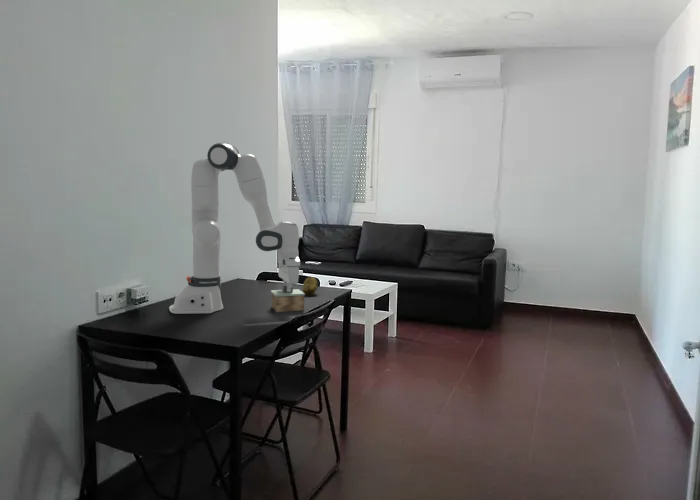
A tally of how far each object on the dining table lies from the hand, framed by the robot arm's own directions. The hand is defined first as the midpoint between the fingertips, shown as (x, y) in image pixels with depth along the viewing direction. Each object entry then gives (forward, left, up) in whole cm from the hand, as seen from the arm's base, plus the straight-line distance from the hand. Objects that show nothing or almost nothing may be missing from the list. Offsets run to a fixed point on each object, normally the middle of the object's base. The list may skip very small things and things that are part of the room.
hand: (287, 290), depth 252 cm
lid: (0, 0, -2) cm, 2 cm away
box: (0, 0, -9) cm, 9 cm away
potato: (+19, +30, -9) cm, 37 cm away
